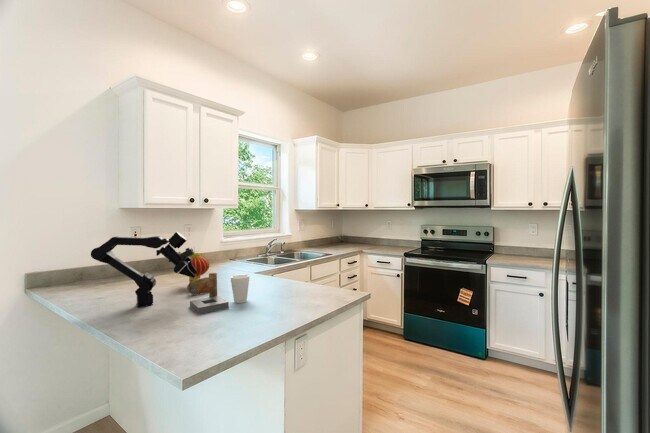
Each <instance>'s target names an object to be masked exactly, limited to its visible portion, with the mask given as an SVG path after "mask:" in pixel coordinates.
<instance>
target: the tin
mask: <svg viewBox="0 0 650 433" xmlns="http://www.w3.org/2000/svg"><path fill="white" fill-rule="evenodd" d="M187 292H188V293H189V294H191V295H193V296H197V294H198V295H201V293H202V294H206V293H209V276H208V277H207V276H206V277H200V279H196V280H192V281H191V282H190V283H188V285H187ZM205 292H206V293H205Z"/></svg>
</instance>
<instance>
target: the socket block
mask: <svg viewBox="0 0 650 433" xmlns="http://www.w3.org/2000/svg"><path fill="white" fill-rule="evenodd" d="M229 304H230V303H229V300H226V299H225V298H223V297H222V296H220V295H217V296H214V297H204V298H203V297H202V298H200V299H192V300H189V308H191V309H192V310H193V311H194V312H195V313H196V314H198V315H203V314H206V313H207V314H208V313H211V312H217V311H222V310H226V309H229Z"/></svg>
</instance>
